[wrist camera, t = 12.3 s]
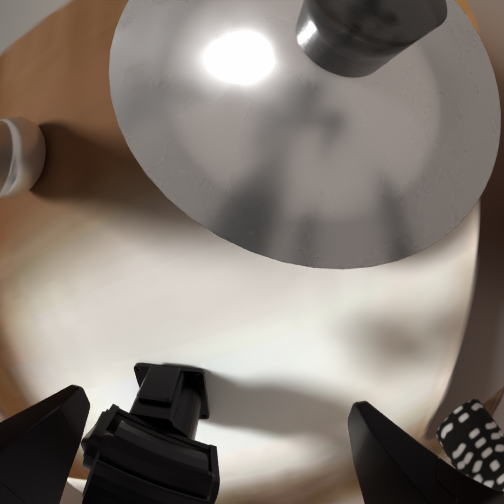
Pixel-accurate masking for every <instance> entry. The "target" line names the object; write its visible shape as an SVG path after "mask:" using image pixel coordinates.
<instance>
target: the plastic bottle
mask: <svg viewBox="0 0 504 504" xmlns="http://www.w3.org/2000/svg"><path fill="white" fill-rule="evenodd" d="M45 156H46V145H45V140H44V136H43V134H42V132H41V130H40V128H39V127H38V126H37V124H36V123H34V122H32V121H30V120H28V119H25V118H22V117H13V118H5V119H0V198H14V197H17V196H19V195H21V194H23V193H25V192H27V191H28V190H30V189H31V188H32V187H33V185H34V184H35V182H36V181H37V180H38V178H39V176H40V174H41V172H42V170H43V167H44V163H45Z"/></svg>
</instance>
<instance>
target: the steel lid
mask: <svg viewBox="0 0 504 504" xmlns="http://www.w3.org/2000/svg"><path fill="white" fill-rule="evenodd" d="M109 81H110V91H111V99H112V103H113V107H114V111H115V114H116V118H117V121H118V125H119V127H120V129H121V131H122V133H123V136H124V138H125V140H126V142H127V144H128V146H129V149H130V151H131V152H132V154H133V155H134V157H135V158H136V160H137V161H138V163H139V164H140V166H141V167H142V169H143V170H144V172H145V173H146V175H147V176H148V177H149V178H150V179H151V180H152V181H153V183H154V184H155V185H156V186H157V187H158V188H159V189H160V190H161V191H162V193H163V194H164V195H165V196H166V197H167V198H168V199H169V200H170V201H172V202H173V203H174V204H175V205H176V206H177V207H179V208H180V209H181V210H182V211H183V212H185V213H186V214H187V215H188V216H189V217H190V218H192V219H193V220H194V221H196V222H198V223H199V224H201V225H202V226H204V227H205V228H207V229H208V230H210V231H212V232H213V233H215V234H216V235H218V236H219V237H221V238H223V239H225V240H227V241H230V242H232V243H234V244H236V245H238V246H240V247H242V248H244V249H246V250H249V251H251V252H254V253H257V254H260V255H263V256H266V257H269V258H272V259H275V260H278V261H281V262H286V263H291V264H296V265H302V266H307V267H312V268H329V269H352V268H364V267H373V266H377V265H382V264H386V263H390V262H394V261H398V260H400V259H403V258H406V257H408V256H411V255H413V254H415V253H418V252H420V251H422V250H424V249H425V248H427V247H429V246H431V245H432V244H434V243H436V242H437V241H439V240H441V239H442V238H443V237H444V236H445V235H447V234H448V233H449V232H450V231H451V230H453V229H454V228H455V227H456V226H457V225H458V224H459V223H460V222H461V221H462V220H463V219H464V218H465V217H466V215H467V214H468V213H469V212H470V211H471V210H472V208H473V207H474V205H475V204H476V202H477V201H478V199H479V197H480V196H481V194H482V193H483V191H484V189H485V187H486V184H487V182H488V180H489V178H490V175H491V173H492V170H493V166H494V163H495V159H496V156H497V151H498V146H499V139H500V123H501V122H500V119H501V118H500V117H501V112H500V102H499V93H498V88H497V84H496V80H495V75H494V71H493V68H492V65H491V63H490V60H489V57H488V54H487V52H486V50H485V47H484V45H483V43H482V41H481V39H480V37H479V35H478V33H477V31H476V30H475V28H474V26H473V25H472V23H471V22H470V20H469V18H468V17H467V15H466V14H465V13H464V11H463V10H462V9H461V7H460V6H459V5H458V4H457V2H456V1H455V0H129V2H128V3H127V5H126V7H125V9H124V11H123V13H122V15H121V18H120V20H119V22H118V25H117V27H116V30H115V34H114V38H113V42H112V47H111V52H110V65H109Z"/></svg>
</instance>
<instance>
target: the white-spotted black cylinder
mask: <svg viewBox="0 0 504 504" xmlns="http://www.w3.org/2000/svg"><path fill="white" fill-rule="evenodd" d="M436 436H437V438H438V440H439V442H440V443H441V445H442V447H443V449H444V450H445V452H446V454H447V456H448V458H449V460H450V462H451V463H452V465H453V467H454V468H455V469H457V470H458V471H460V472H462V473H463V474H465V475H467V476H469V477H471V478H472V479H474V480H476V481H478V482H480V483H482V484H484V485H486V486H489V487H491V488H493V489H495V490H499V491H504V433H503V432H502V431H501V429H500V428H499V426H498V425H497V424H496V423H495V421H494V420H493V418H492V417H491V416H490V414H489V413H488V412H487V410H486V409H485V408H484V407H483V405H482V404H481V403H480V401H479V400H477V399H473V400H471V401H468V402H466V403H465V404H463V405H461V406H460V407H459V408H458V409H456V410H455V411H454V412H452V413H451V414H450V415H449V416H448V417H447V418H446V419H445V420H444V421H443V423H442V424H441V425H440V427H439V428H438V430H437V433H436Z"/></svg>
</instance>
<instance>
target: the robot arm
mask: <svg viewBox="0 0 504 504" xmlns="http://www.w3.org/2000/svg"><path fill="white" fill-rule="evenodd" d="M139 368H140V369H139ZM134 371H135V375H136V378H137V382H138V385H139V388H140V389H139V391H138V393H137V397H136V399H135V401H134V403H133V405H132V407H131V410H130V412H129V413H128V412H126V411H124V410H122V409H120V408H119V407H118V406H116V405H114V404H113V405H112V406H111V408H110V409H109V410H108V409H107V410H106V412H102V413H101V415H100V417H99V419H98V421H97V422H96V424H95V426H94V427H93V428H92V429H91V430H90V431H89V432H88V433H87V434H86V436H85V437H84V438H83V439H82V435H83V432H84V428H85V424H86V421H87V417H88V414H89V410H90V402H89V400H88V398H87V396H86V394H85V391H84V389H83V388H82V387H80V386H77V385H70V386H68V387H66V388H64V389H63V390H61V391H59V392H57V393H55V394H53V395H52V396H50V397H48V398H46V399H44V400H42V401H40V402H38V403H37V404H35V405H33V406H31V407H29V408H27V409H25V410H23V411H21V412H19V413H18V414H16V415H14V416H12V417H10V418H8V419H6V420H4V421H2V423H1V422H0V504H59V503H60V500H61V496H62V493H63V490H64V487H65V484H66V481H67V478H68V475H69V472H70V469H71V467H72V464H73V461H74V458H75V456H76V453H77V450H78V448H79V445H80V442H81V446H82V448H83V451H84V455H83V457H84V460H83V467H85V468H86V469H88V470H90V473H89V476H88V479H87V482H86V485H85V488H84V491H83V501H82V504H214V503H215V501H216V498H217V495H218V491H219V485H220V476H219V466H218V456H217V446H214V445H207V444H204V443H201V442H198V441H195V435H196V430H197V425H198V420H199V419H208V418H209V415H210V412H209V405H208V398H207V390H206V382H205V374H204V372H203V371H202V370H201V369H192V368H180V367H169V366H159V365H151V364H143V363H137V364H136V365H135V366H134ZM197 374H200V375H197ZM348 429H349V436H350V442H351V449H352V456H353V462H354V466H355V470H356V473H357V477H358V480H359V484H360V488H361V491H362V495H363V499H364V503H365V504H504V491H499V490H495V489H493V488H491V487H489V486H486V485H484V484H482V483H480V482H478V481H476V480H474V479H472V478H471V477H469V476H467V475H465V474H463V473H462V472H460V471H458V470H457V469H455V468H454V467H452V466H451V465H449V464H448V463H446V462H445V461H443V460H442V459H441V458H438V456H436V455H435V454H434V453H432V452H431V451H430V450H428V449H427V448H426V447H424V446H423V445H422V444H420V443H419V442H418V441H417V440H415V439H414V438H413V437H411V436H410V435H409V434H407V433H406V432H405V431H404V430H402V429H401V428H400V427H398V426H397V425H396V424H395V423H393V422H392V421H391V420H390V419H388V418H387V417H386V416H385V415H383V414H382V413H381V412H380V411H378V410H377V409H376V408H375V407H373V406H372V405H371V404H370V403H368V402H367V401H360V402H355V403H354V404H353V405H352V408H351V411H350V414H349V417H348ZM81 439H82V441H81Z"/></svg>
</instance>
